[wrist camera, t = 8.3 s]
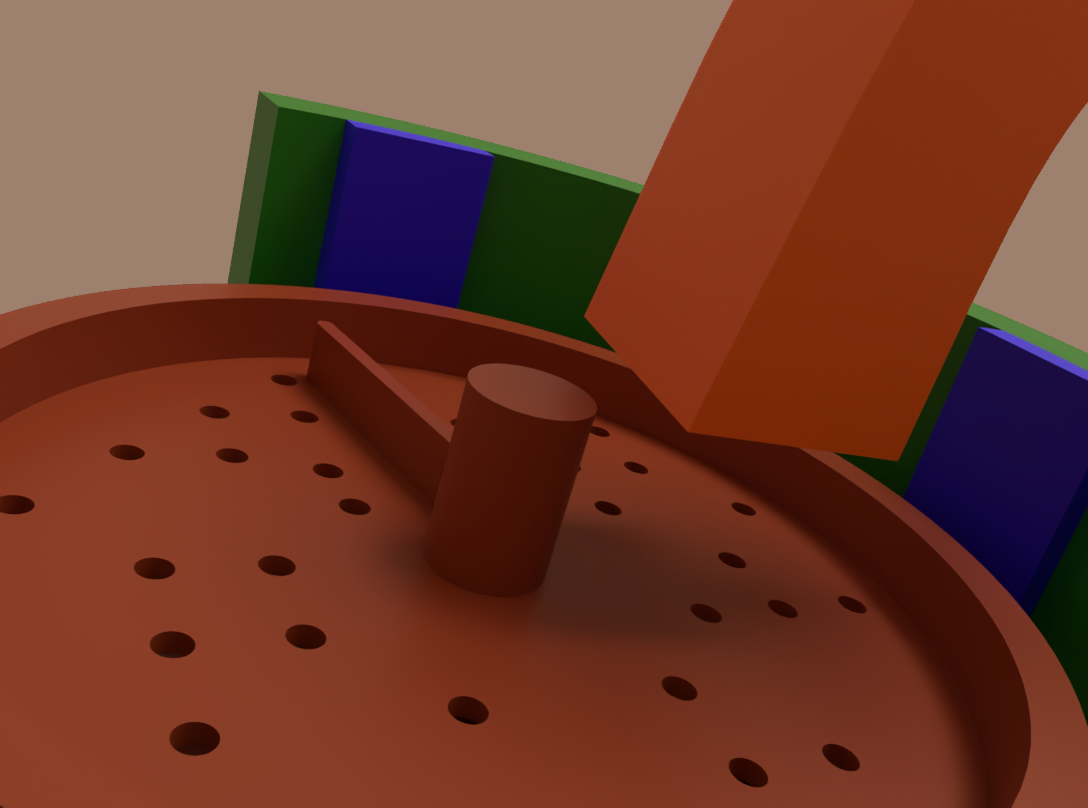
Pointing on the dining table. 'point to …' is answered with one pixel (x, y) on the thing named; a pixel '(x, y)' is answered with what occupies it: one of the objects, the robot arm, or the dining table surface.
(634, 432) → the motor
